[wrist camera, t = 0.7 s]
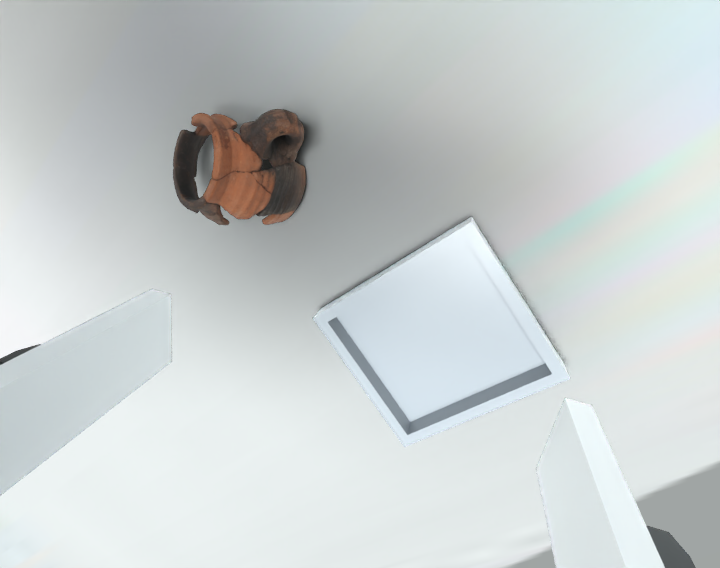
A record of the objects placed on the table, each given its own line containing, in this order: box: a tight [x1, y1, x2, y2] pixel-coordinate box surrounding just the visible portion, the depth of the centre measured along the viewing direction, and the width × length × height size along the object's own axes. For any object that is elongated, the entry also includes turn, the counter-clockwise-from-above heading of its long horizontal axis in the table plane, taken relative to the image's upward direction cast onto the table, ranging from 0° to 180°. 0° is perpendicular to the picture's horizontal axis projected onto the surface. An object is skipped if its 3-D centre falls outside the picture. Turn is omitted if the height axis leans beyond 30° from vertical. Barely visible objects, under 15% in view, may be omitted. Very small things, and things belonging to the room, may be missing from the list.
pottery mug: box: [173, 109, 306, 225], centre depth 35 cm, size 12×9×8 cm
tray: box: [313, 216, 570, 447], centre depth 37 cm, size 15×16×2 cm
